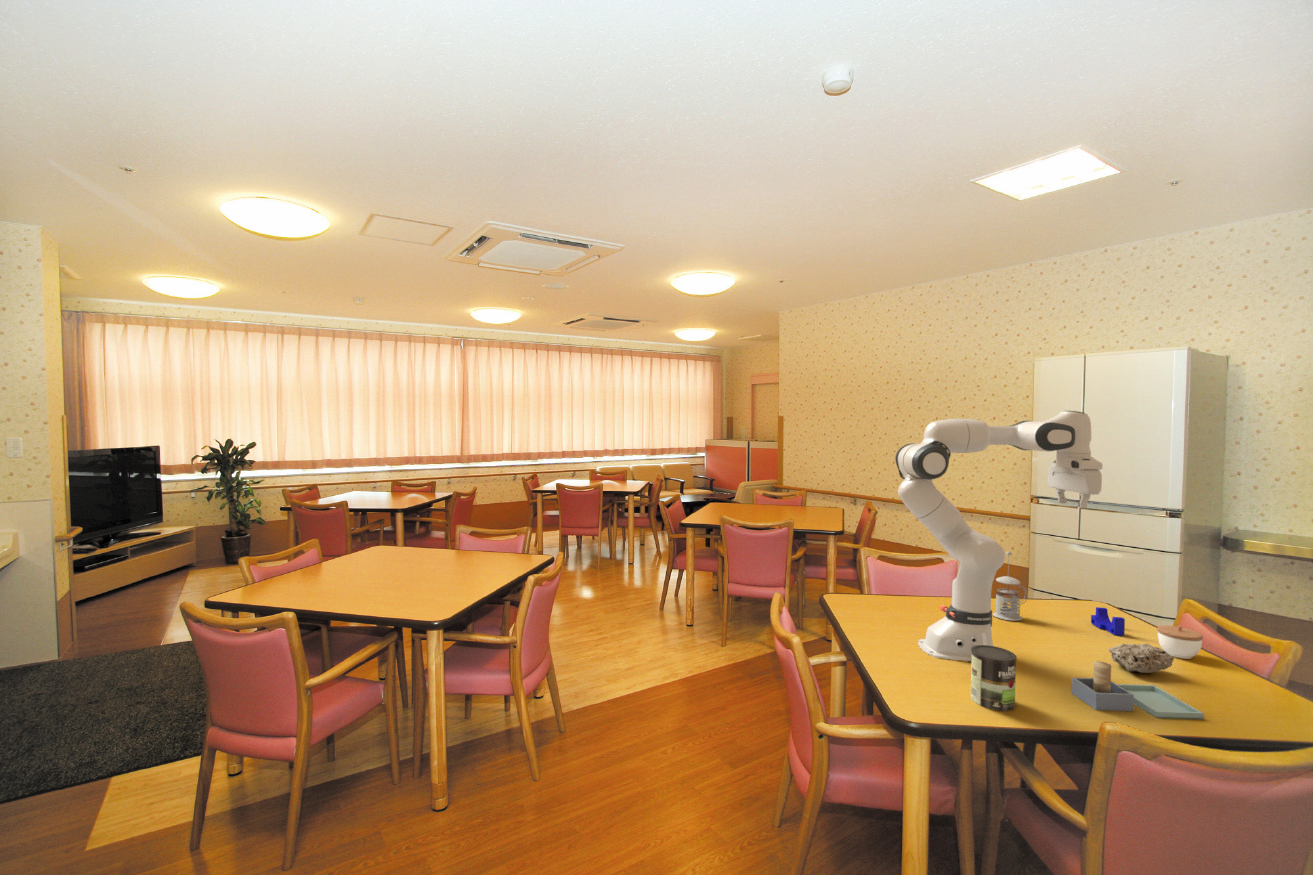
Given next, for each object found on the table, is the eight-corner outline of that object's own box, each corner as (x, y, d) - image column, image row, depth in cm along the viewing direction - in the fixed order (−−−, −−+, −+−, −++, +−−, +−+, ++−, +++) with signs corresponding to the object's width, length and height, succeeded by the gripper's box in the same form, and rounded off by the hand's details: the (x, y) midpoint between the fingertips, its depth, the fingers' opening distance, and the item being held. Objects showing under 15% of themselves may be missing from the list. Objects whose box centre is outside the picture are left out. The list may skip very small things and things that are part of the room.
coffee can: (1024, 710, 148) (1025, 656, 147) (997, 718, 144) (998, 663, 143) (987, 692, 157) (988, 642, 157) (961, 699, 153) (962, 648, 153)
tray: (1156, 720, 143) (1156, 711, 143) (1111, 691, 158) (1111, 683, 158) (1203, 721, 142) (1203, 713, 142) (1153, 692, 157) (1154, 685, 157)
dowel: (1099, 704, 149) (1100, 666, 149) (1089, 698, 153) (1090, 661, 152) (1113, 705, 149) (1114, 667, 148) (1103, 698, 152) (1104, 661, 152)
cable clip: (1090, 622, 212) (1091, 606, 212) (1104, 623, 212) (1105, 607, 211) (1109, 634, 201) (1110, 617, 201) (1124, 635, 200) (1124, 618, 200)
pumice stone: (1156, 666, 174) (1157, 640, 174) (1182, 683, 163) (1183, 656, 163) (1104, 661, 177) (1104, 636, 177) (1126, 678, 166) (1126, 651, 166)
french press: (988, 611, 224) (989, 548, 224) (1019, 612, 223) (1021, 549, 222) (999, 620, 215) (1000, 554, 214) (1032, 621, 213) (1034, 555, 212)
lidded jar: (1201, 654, 183) (1202, 625, 183) (1202, 665, 175) (1203, 635, 175) (1157, 645, 190) (1158, 617, 190) (1155, 655, 183) (1156, 626, 182)
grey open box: (1095, 712, 146) (1096, 693, 146) (1071, 695, 156) (1072, 677, 155) (1133, 713, 146) (1133, 694, 146) (1106, 696, 155) (1107, 678, 155)
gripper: (1042, 459, 192) (1041, 500, 192) (1085, 464, 171) (1083, 510, 172) (1062, 459, 191) (1061, 500, 192) (1106, 464, 171) (1105, 510, 171)
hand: (1072, 505), depth 181 cm, fingers open, 8 cm apart
